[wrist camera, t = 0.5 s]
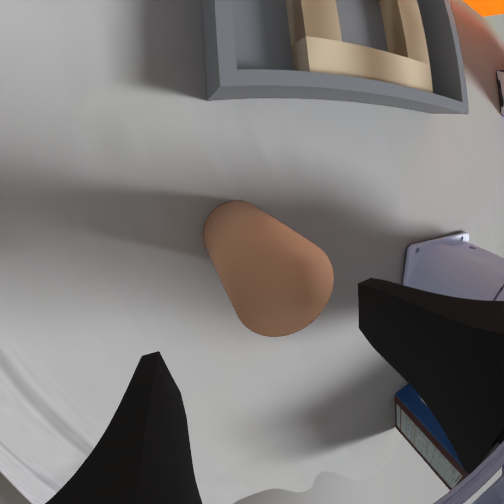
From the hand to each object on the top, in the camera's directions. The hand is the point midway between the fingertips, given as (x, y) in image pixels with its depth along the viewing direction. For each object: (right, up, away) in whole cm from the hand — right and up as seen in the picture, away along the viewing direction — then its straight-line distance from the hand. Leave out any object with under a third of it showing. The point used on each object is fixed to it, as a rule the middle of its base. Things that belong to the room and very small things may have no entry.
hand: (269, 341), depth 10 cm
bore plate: (+6, +19, +6) cm, 20 cm away
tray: (+5, +21, +4) cm, 22 cm away
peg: (-2, +4, +8) cm, 10 cm away
